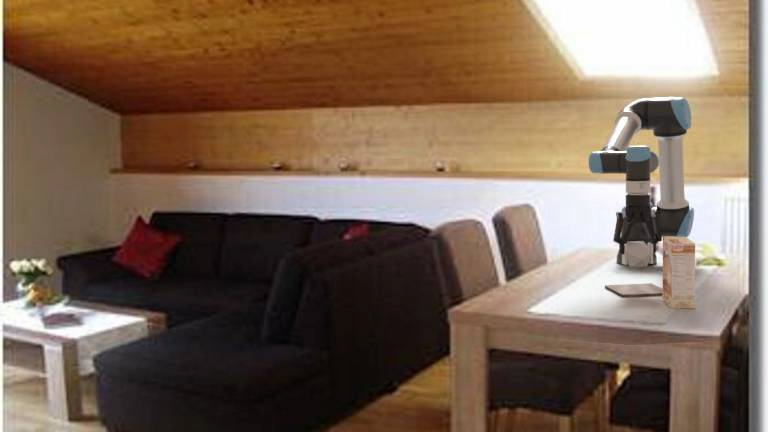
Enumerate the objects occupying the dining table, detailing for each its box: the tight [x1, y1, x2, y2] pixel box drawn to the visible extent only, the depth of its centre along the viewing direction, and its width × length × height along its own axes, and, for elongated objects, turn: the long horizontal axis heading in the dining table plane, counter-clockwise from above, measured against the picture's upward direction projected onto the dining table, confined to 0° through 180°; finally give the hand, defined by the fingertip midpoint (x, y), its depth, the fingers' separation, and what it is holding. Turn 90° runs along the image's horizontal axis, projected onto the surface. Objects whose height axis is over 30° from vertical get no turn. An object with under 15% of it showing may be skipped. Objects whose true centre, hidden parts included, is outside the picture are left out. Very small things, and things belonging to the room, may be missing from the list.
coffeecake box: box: [661, 236, 696, 309], centre depth 244 cm, size 15×7×20 cm, turn 170°
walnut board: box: [604, 283, 663, 298], centre depth 263 cm, size 16×16×1 cm
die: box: [626, 241, 653, 268], centre depth 262 cm, size 8×9×10 cm
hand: (637, 263), depth 262 cm, fingers closed on die, 8 cm apart
